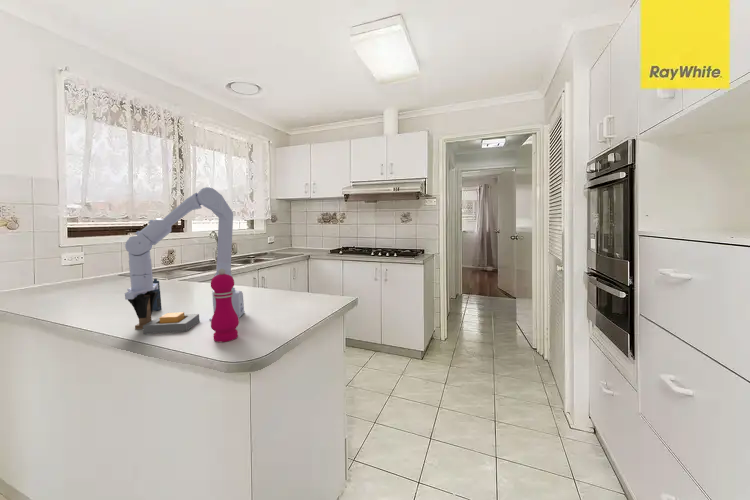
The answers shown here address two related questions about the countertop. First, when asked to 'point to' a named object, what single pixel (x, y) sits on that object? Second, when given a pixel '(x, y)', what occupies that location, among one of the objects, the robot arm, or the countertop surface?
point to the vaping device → (157, 298)
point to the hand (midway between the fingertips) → (145, 316)
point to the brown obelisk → (145, 320)
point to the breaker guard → (171, 325)
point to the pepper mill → (224, 308)
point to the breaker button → (172, 317)
